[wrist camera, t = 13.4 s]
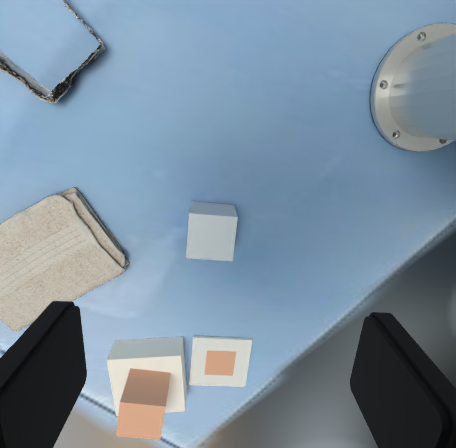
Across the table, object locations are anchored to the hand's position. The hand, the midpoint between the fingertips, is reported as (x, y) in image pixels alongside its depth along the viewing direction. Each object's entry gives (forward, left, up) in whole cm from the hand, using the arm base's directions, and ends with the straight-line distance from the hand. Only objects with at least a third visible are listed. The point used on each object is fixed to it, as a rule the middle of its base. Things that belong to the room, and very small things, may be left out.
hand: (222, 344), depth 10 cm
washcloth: (+19, +11, -28) cm, 36 cm away
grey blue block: (0, +5, -28) cm, 28 cm away
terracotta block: (+6, +26, -24) cm, 36 cm away
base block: (+6, +26, -28) cm, 39 cm away
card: (-3, +25, -27) cm, 37 cm away
